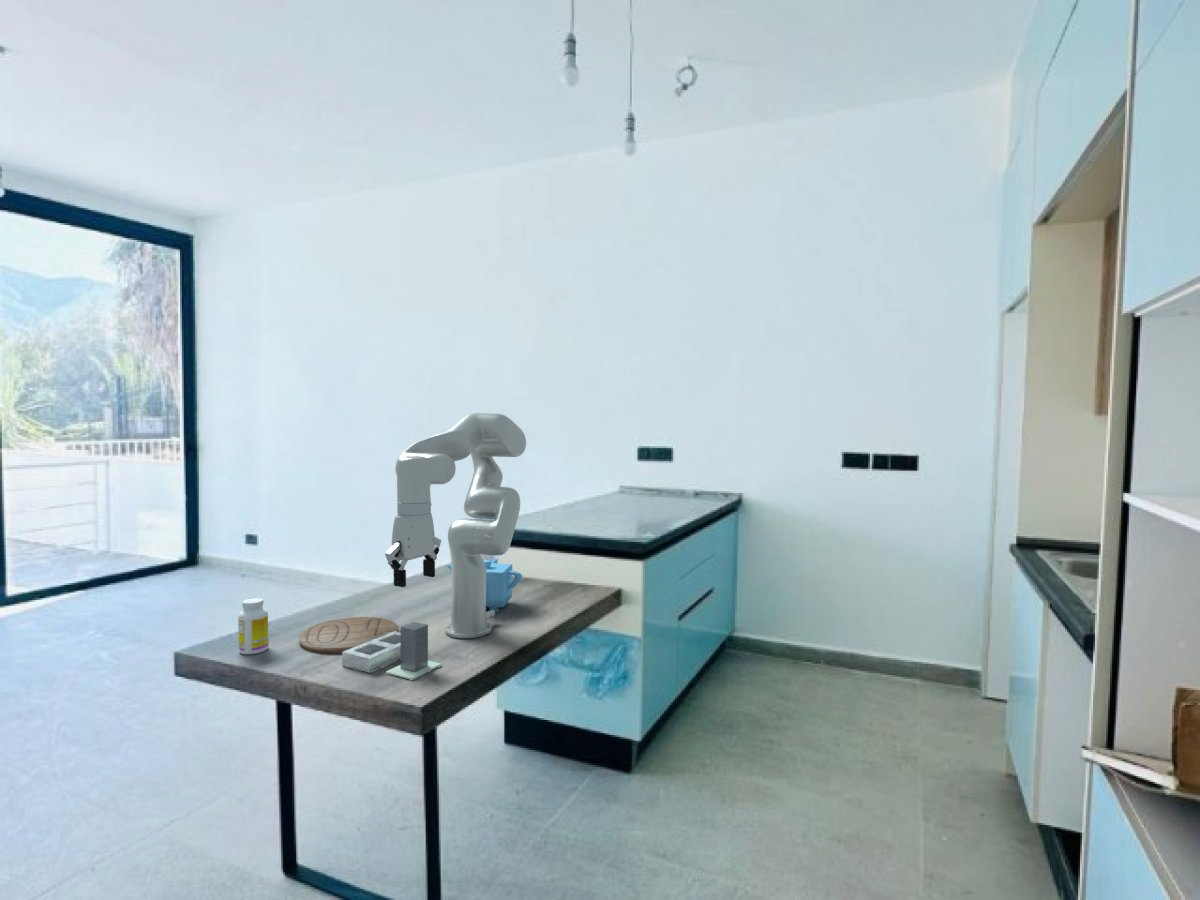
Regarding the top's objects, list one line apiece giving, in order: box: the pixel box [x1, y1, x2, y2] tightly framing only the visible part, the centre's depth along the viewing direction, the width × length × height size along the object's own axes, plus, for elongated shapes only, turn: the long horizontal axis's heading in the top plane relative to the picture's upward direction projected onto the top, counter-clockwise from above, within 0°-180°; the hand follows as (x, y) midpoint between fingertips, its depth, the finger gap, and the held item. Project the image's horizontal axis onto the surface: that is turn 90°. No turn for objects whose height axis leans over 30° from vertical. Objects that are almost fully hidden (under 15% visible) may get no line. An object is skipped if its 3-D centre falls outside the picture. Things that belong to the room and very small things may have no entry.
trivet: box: [298, 616, 399, 654], centre depth 175 cm, size 25×25×2 cm
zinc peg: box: [400, 621, 429, 672], centre depth 153 cm, size 4×4×10 cm
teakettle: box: [444, 557, 523, 612], centre depth 204 cm, size 19×19×15 cm
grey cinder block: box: [341, 631, 401, 674], centre depth 160 cm, size 17×9×4 cm, turn 153°
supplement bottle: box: [237, 597, 269, 655], centre depth 164 cm, size 7×7×13 cm
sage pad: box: [385, 660, 442, 679], centre depth 153 cm, size 10×8×1 cm
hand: (414, 581), depth 153 cm, fingers open, 9 cm apart
